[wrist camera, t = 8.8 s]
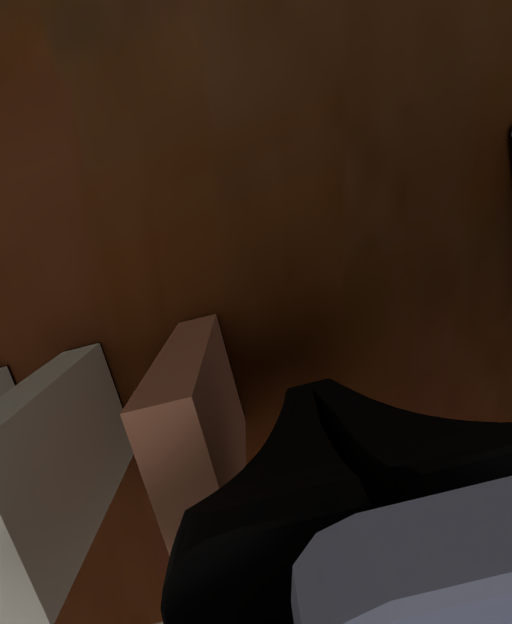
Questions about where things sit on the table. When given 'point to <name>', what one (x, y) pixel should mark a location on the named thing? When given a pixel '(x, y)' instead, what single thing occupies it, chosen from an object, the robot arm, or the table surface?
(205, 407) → the terracotta domino
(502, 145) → the table surface
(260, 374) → the table surface
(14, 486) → the ivory domino
